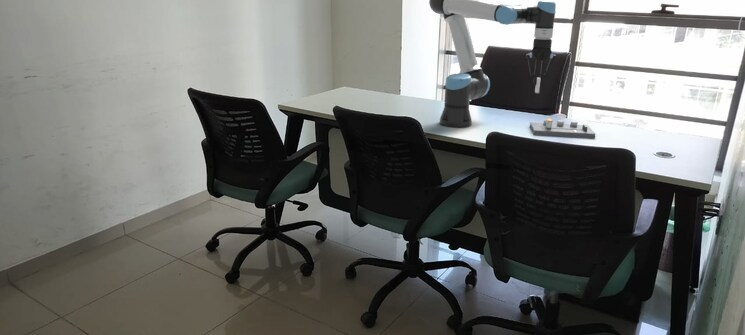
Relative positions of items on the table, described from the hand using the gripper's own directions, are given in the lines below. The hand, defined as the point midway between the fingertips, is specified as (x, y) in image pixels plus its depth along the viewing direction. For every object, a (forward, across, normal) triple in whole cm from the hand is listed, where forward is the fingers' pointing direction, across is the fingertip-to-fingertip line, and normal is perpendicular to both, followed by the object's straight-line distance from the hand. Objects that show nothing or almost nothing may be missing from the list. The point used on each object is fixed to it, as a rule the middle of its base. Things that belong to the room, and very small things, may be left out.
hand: (536, 92), depth 237 cm
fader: (+16, +7, 0) cm, 17 cm away
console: (+18, +13, +2) cm, 22 cm away
